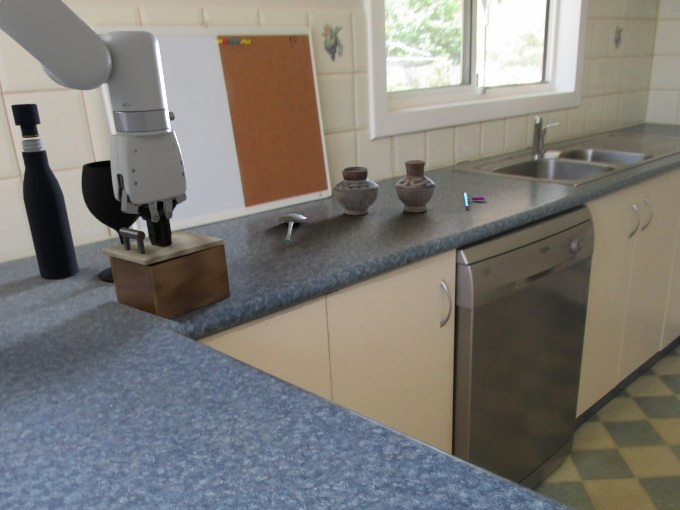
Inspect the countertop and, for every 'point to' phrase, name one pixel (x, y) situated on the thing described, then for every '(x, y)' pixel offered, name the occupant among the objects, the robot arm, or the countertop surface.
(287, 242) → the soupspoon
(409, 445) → the countertop surface
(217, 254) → the chest
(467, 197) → the squeegee
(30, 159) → the black water bottle
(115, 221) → the wine glass
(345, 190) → the pottery
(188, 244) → the chest lid
